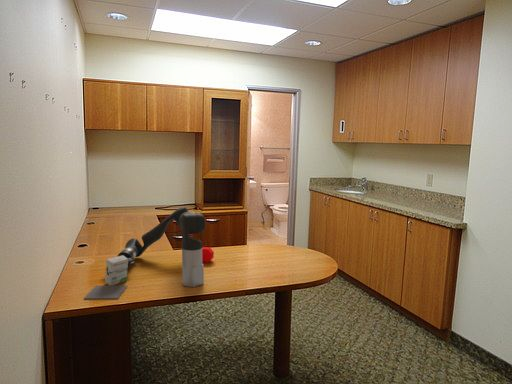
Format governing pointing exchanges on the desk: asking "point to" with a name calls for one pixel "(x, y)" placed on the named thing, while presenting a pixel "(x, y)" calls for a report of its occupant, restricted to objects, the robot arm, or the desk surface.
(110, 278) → the ink box
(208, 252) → the ball
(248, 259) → the desk surface
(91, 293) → the charcoal mat
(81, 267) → the desk surface
